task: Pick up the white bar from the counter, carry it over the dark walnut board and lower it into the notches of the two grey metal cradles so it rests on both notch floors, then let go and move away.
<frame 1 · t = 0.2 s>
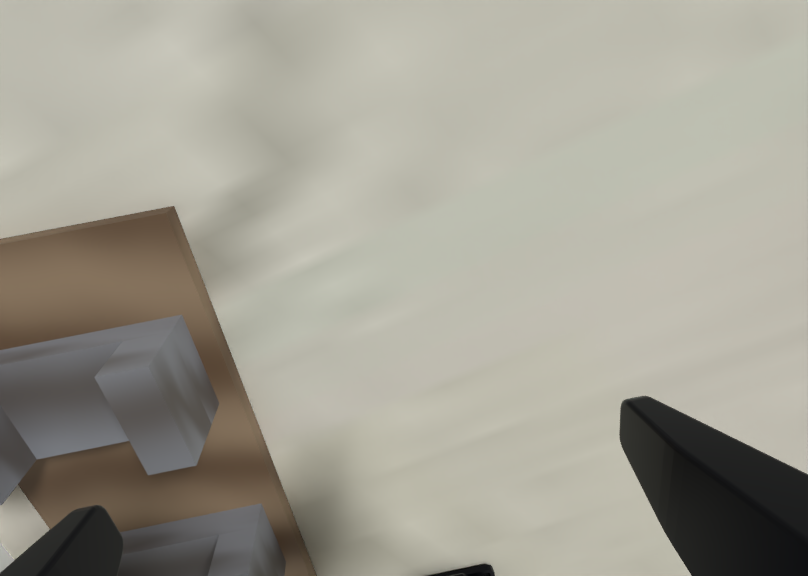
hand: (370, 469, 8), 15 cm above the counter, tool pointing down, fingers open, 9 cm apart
cradle board: (152, 461, 26), on the counter
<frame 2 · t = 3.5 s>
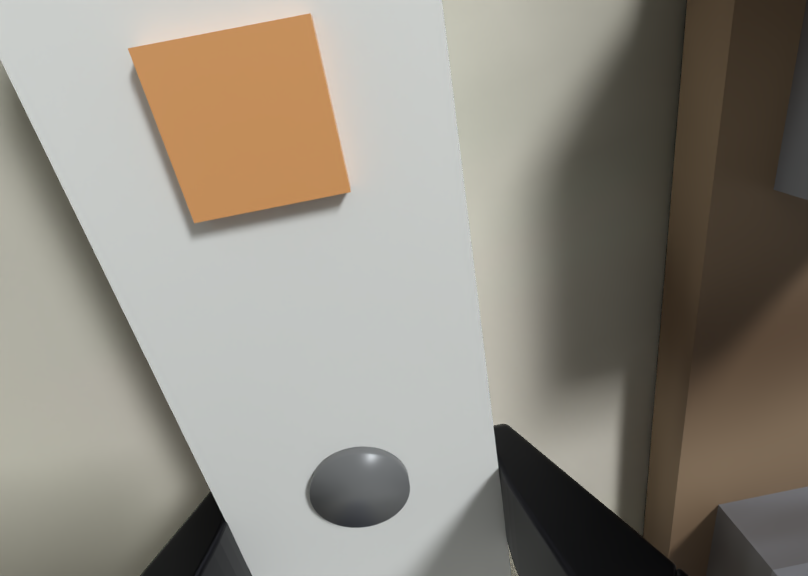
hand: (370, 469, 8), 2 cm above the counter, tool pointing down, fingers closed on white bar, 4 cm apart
white bar: (367, 404, 10), on the counter, touching gripper
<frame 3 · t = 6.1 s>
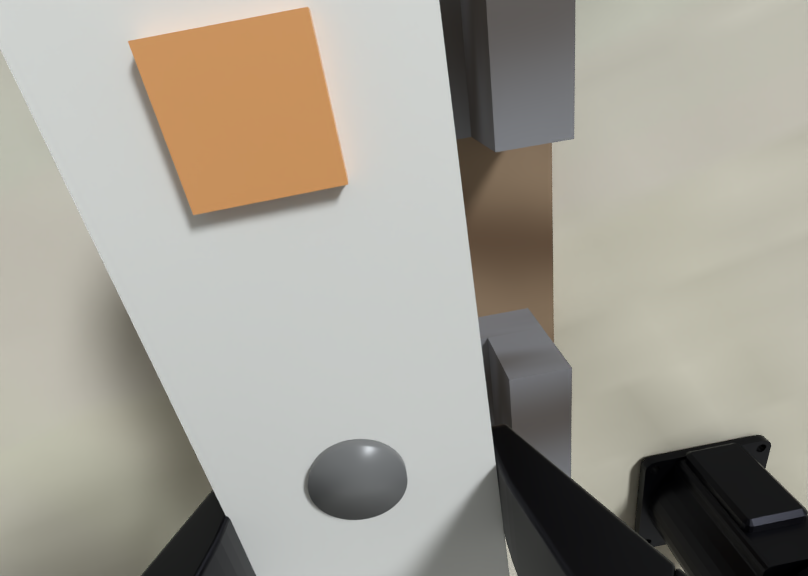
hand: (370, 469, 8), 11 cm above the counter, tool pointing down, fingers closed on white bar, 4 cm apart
cradle board: (383, 237, 18), on the counter
white bar: (365, 400, 10), point 9 cm above the counter, touching gripper
when the fingers open (5 cm above the counter, at t = 7.9 s): white bar stays where it is, resting on cradle board.
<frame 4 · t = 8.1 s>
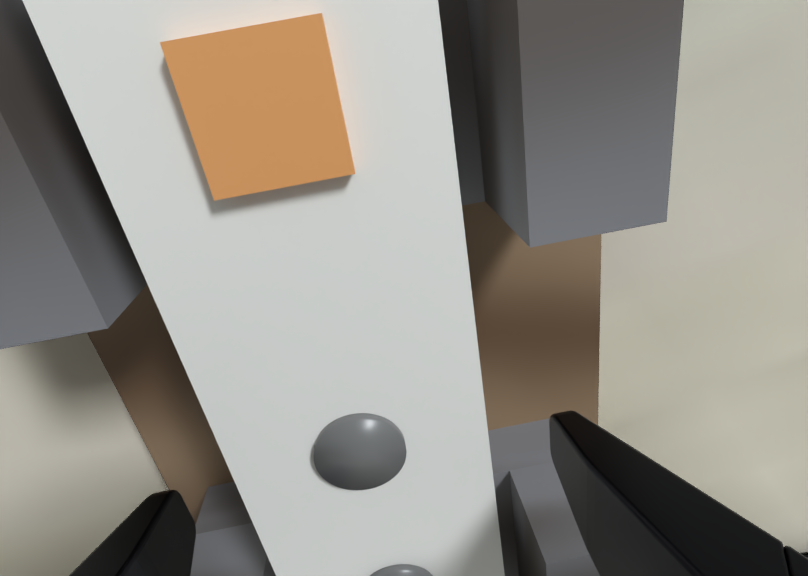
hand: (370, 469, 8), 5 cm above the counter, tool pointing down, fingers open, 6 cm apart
cradle board: (361, 325, 13), on the counter
white bar: (366, 384, 11), point 2 cm above the counter, touching cradle board
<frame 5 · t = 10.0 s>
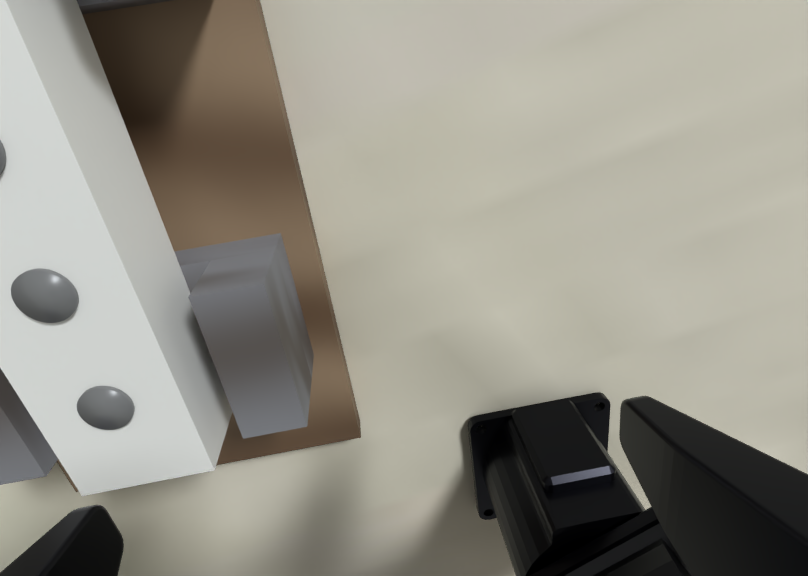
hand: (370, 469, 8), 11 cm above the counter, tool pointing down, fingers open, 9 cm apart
cradle board: (101, 147, 16), on the counter
white bar: (63, 166, 13), point 2 cm above the counter, touching cradle board
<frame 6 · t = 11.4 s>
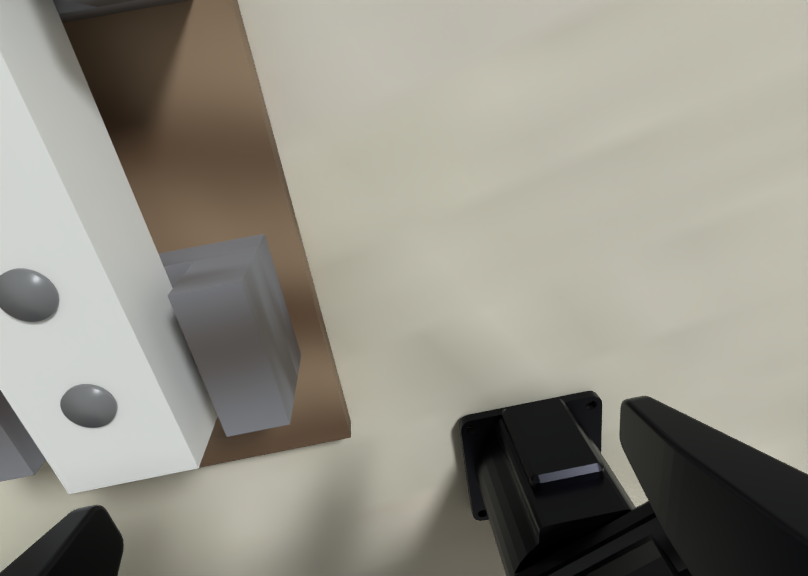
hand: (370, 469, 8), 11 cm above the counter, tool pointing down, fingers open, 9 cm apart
cradle board: (87, 152, 16), on the counter
white bar: (47, 169, 14), point 2 cm above the counter, touching cradle board
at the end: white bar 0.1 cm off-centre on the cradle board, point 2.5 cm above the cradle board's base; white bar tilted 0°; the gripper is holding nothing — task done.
